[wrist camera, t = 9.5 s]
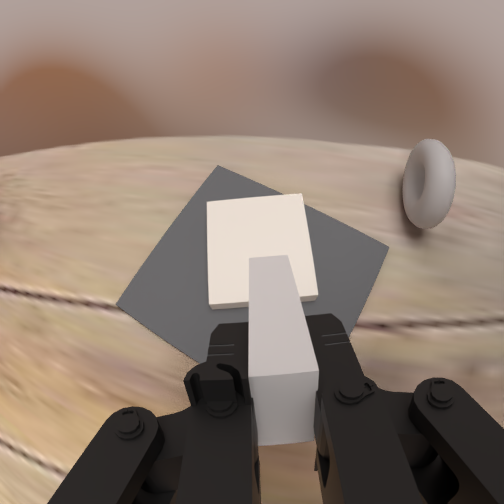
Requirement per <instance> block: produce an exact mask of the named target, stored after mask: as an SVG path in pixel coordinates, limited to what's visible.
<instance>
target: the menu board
mask: <svg viewBox="0 0 504 504" xmlns="http://www.w3.org/2000/svg"><path fill="white" fill-rule="evenodd" d="M207 254H208V291H209V305H210V307H211V308H212V309H213V310H214V309H228V308H241V307H249V258H254V257H267V256H279V255H288V258H289V261H290V265H291V268H292V272H293V275H294V279H295V283H296V286H297V290H298V293H299V297H300V301H301V302H306V301H315V300H316V298H317V296H318V289H317V282H316V275H315V268H314V262H313V255H312V249H311V243H310V237H309V231H308V225H307V219H306V214H305V208H304V202H303V197H302V193H300V194H287V195H274V196H262V197H251V198H240V199H229V200H219V201H210V202H207Z"/></svg>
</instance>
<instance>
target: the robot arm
mask: <svg viewBox="0 0 504 504" xmlns="http://www.w3.org/2000/svg"><path fill="white" fill-rule="evenodd" d="M183 381H184V384H185V387H186V391H187V394H188V397H189V400H190V403H191V406H190V407H188V408H187V409H185V410H183V411H180V412H177V413H174V414H170V415H165V416H160V417H155V415H154V414H153V413H152V412H151V411H149V410H147V409H145V408H143V407H128V408H123V409H121V410H119V411H117V412H115V413H113V414H112V415H111V416H110V417H109V418H108V419H107V420H106V421H105V423H104V424H103V425H102V427H101V428H100V430H99V431H98V432H97V434H96V435H95V437H94V438H93V439H92V441H91V442H90V444H89V445H88V446H87V448H86V449H85V451H84V452H83V453H82V455H81V456H80V458H79V459H78V460H77V462H76V463H75V465H74V466H73V468H72V469H71V470H70V472H69V473H68V475H67V476H66V478H65V479H64V480H63V482H62V483H61V485H60V486H59V488H58V489H57V490H56V492H55V493H54V495H53V496H52V498H51V499H50V500H49V502H48V503H47V504H261V490H260V462H259V455H258V446H266V445H279V444H290V443H300V442H308V441H314V434H315V438H316V444H317V451H316V459H315V468H314V471H318V474H319V480H320V486H321V493H322V499H323V504H504V429H503V428H502V427H501V426H500V425H499V424H498V423H497V422H496V421H495V420H494V419H493V418H492V417H491V416H490V415H489V414H488V413H487V412H486V411H485V410H484V409H483V408H482V407H481V406H480V405H479V404H478V403H477V402H476V401H475V400H474V399H473V398H472V397H471V396H470V395H469V394H468V393H467V392H466V391H465V390H464V389H463V388H462V387H461V386H459V385H458V384H456V383H455V382H453V381H452V380H448V379H445V378H430V379H427V380H424V381H423V382H421V383H420V384H419V385H417V387H416V389H415V391H414V393H406V392H391V391H385V390H382V389H379V388H378V387H377V385H376V384H375V383H374V381H372V380H370V379H369V378H367V377H365V376H364V374H363V372H362V369H361V367H360V364H359V362H358V359H357V357H356V355H355V352H354V350H353V347H352V345H351V343H350V340H349V338H348V335H347V334H346V331H345V328H344V326H343V324H342V321H340V320H339V319H338V318H337V317H335V316H334V315H333V314H332V313H328V314H319V315H309V316H305V315H304V312H303V308H302V304H301V301H300V297H299V293H298V290H297V286H296V283H295V279H294V275H293V272H292V268H291V265H290V261H289V258H288V255H279V256H267V257H254V258H249V322H239V323H223V324H218V326H217V327H216V328H215V329H214V331H213V332H212V333H211V336H210V342H209V348H208V356H207V360H206V362H203V363H201V364H199V365H196V366H195V367H194V368H192V369H191V370H190V371H189V372H188V373H187V375H186V377H185V378H184V380H183Z"/></svg>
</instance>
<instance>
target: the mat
mask: <svg viewBox="0 0 504 504" xmlns="http://www.w3.org/2000/svg"><path fill="white" fill-rule="evenodd" d="M274 195H284V194H282V193H279V192H277V191H275V190H273V189H271V188H268V187H266V186H264V185H262V184H260V183H257V182H255V181H253V180H251V179H248V178H246V177H244V176H242V175H239V174H237V173H235V172H232V171H230V170H228V169H225V168H223V167H221V166H217V167H216V168H215V169H214V170H213V172H212V173H211V174H210V175H209V177H208V178H207V179H206V180H205V182H204V183H203V184H202V186H201V187H200V188H199V189H198V191H197V192H196V193H195V194H194V196H193V197H192V198H191V200H190V201H189V202H188V204H187V205H186V206H185V207H184V209H183V210H182V211H181V213H180V214H179V215H178V217H177V218H176V219H175V221H174V222H173V223H172V225H171V226H170V227H169V229H168V230H167V231H166V233H165V234H164V236H163V237H162V238H161V240H160V241H159V242H158V244H157V245H156V247H155V248H154V249H153V251H152V252H151V254H150V255H149V256H148V258H147V259H146V261H145V262H144V263H143V265H142V266H141V268H140V269H139V271H138V272H137V274H136V275H135V276H134V278H133V279H132V281H131V282H130V284H129V285H128V287H127V288H126V290H125V291H124V293H123V294H122V296H121V297H120V299H119V300H118V302H117V303H116V305H117V306H118V307H120V308H121V309H122V310H124V311H125V312H126V313H128V314H129V315H130V316H132V317H133V318H134V319H136V320H137V321H139V322H140V323H141V324H143V325H144V326H145V327H147V328H148V329H150V330H151V331H152V332H154V333H155V334H157V335H158V336H160V337H161V338H162V339H164V340H165V341H167V342H168V343H170V344H171V345H173V346H174V347H176V348H177V349H179V350H180V351H182V352H183V353H185V354H186V355H188V356H189V357H191V358H192V359H194V360H195V361H197V362H198V363H200V364H201V363H203V362H206V360H207V356H208V348H209V342H210V336H211V333H212V332H213V331H214V329H215V328H216V327H217V326H218V324H223V323H239V322H249V307H241V308H228V309H214V310H213V309H212V308H211V307H210V305H209V291H208V254H207V202H210V201H219V200H229V199H240V198H251V197H262V196H274ZM304 208H305V214H306V219H307V225H308V231H309V237H310V243H311V249H312V255H313V262H314V268H315V275H316V282H317V289H318V296H317V298H316V300H315V301H306V302H301V304H302V308H303V312H304V315H305V316H309V315H319V314H328V313H332V314H333V315H334V316H335V317H337V318H338V319H339V320H340V321H342V324H343V326H344V328H345V331H346V334H347V335H348V338H349V336H350V334H351V332H352V330H353V328H354V326H355V324H356V322H357V319H358V317H359V315H360V313H361V311H362V309H363V307H364V305H365V302H366V300H367V298H368V296H369V294H370V291H371V289H372V287H373V285H374V282H375V280H376V278H377V275H378V273H379V271H380V268H381V266H382V264H383V261H384V259H385V256H386V254H387V251H388V249H389V247H388V246H386V245H384V244H383V243H381V242H379V241H377V240H375V239H373V238H371V237H369V236H367V235H365V234H363V233H361V232H360V231H358V230H356V229H354V228H352V227H350V226H348V225H346V224H344V223H342V222H340V221H338V220H336V219H334V218H332V217H330V216H328V215H326V214H324V213H322V212H319V211H317V210H315V209H313V208H311V207H309V206H307V205H305V204H304Z"/></svg>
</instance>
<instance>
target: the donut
mask: <svg viewBox="0 0 504 504" xmlns="http://www.w3.org/2000/svg"><path fill="white" fill-rule="evenodd" d="M455 187H456V171H455V165H454V161H453V158H452V156H451V153H450V151H449V150H448V149H447V148H446V147H445V146H444V145H443V144H442V143H441V142H440V141H438V140H433V139H425V140H422V141H421V142H419V143H418V144H417V145H416V146H415V147H414V148H413V150H412V151H411V153H410V156H409V158H408V161H407V164H406V167H405V171H404V178H403V190H402V191H403V203H404V208H405V212H406V214H407V217H408V218H409V220H410V221H411V222H412V223H413V224H414V225H415V226H417V227H418V228H421V229H422V228H433V227H435V226H437V225H438V224H439V223H441V222H442V221H443V219H444V218H445V216H446V215H447V213H448V212H449V209H450V207H451V204H452V202H453V198H454V193H455Z"/></svg>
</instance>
